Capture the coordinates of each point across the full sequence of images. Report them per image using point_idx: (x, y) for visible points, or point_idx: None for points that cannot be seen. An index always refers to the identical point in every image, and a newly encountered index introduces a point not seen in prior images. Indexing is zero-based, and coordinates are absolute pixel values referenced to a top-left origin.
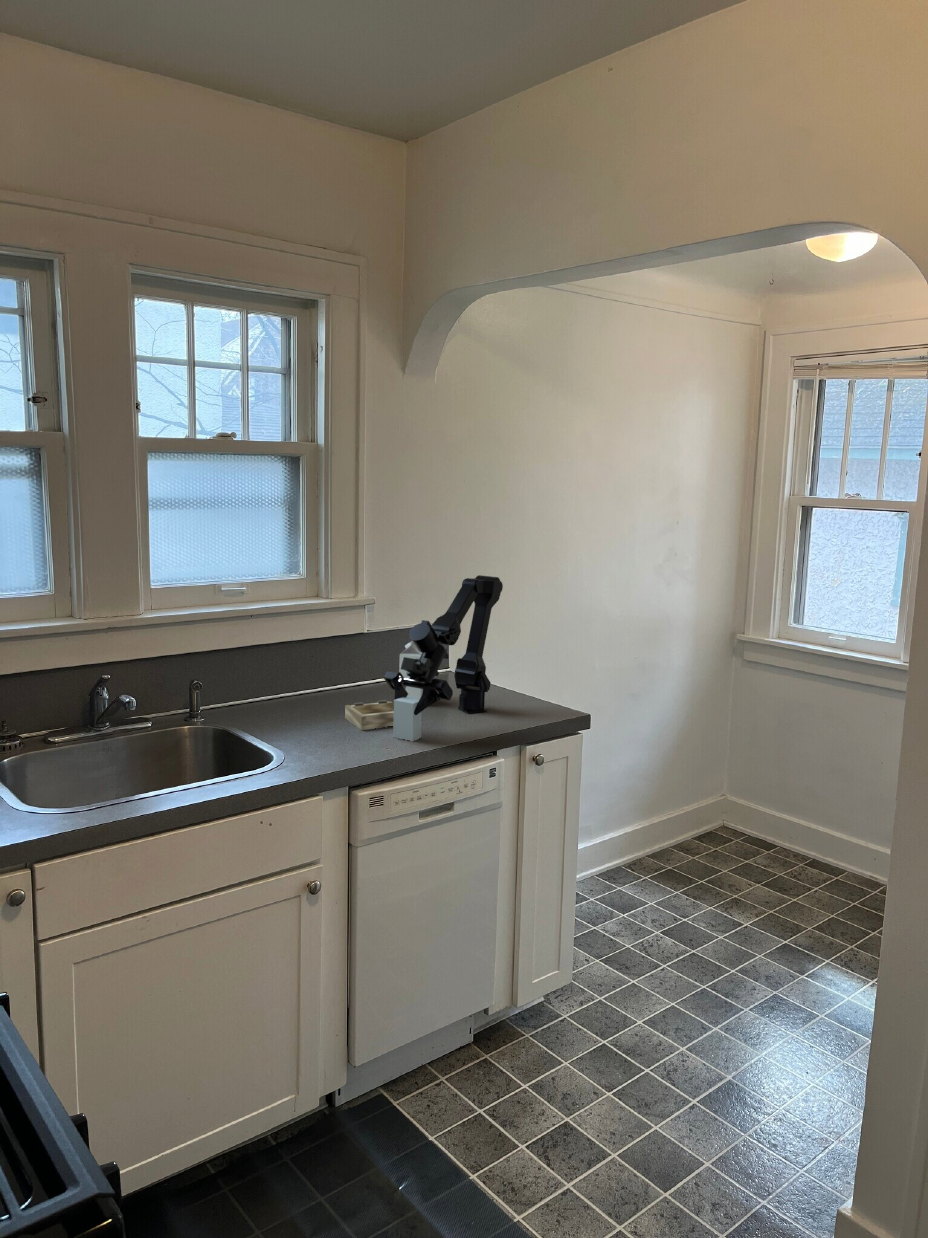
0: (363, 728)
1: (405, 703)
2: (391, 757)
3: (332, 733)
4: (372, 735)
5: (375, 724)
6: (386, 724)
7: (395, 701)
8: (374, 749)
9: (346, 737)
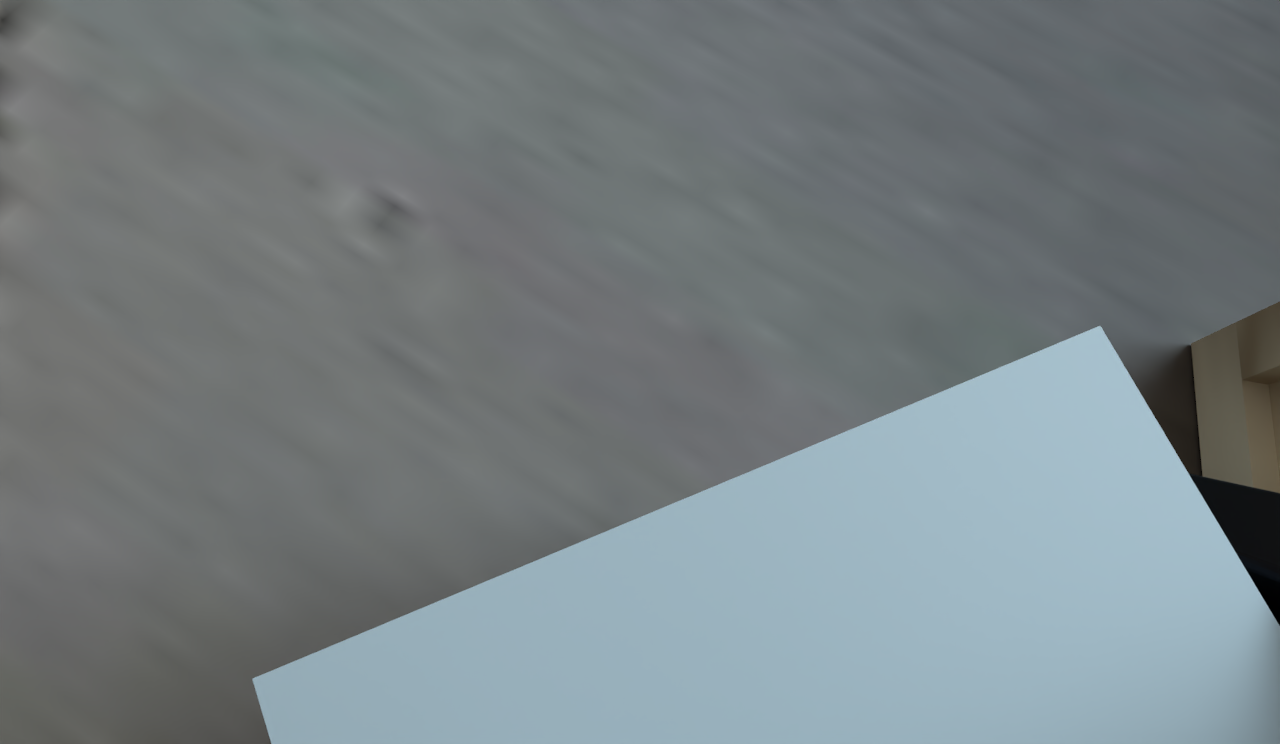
0: (1208, 362)
1: (635, 520)
2: (53, 64)
3: (1175, 40)
4: (951, 347)
5: None
6: None
7: (1024, 363)
8: (445, 77)
9: (993, 75)
